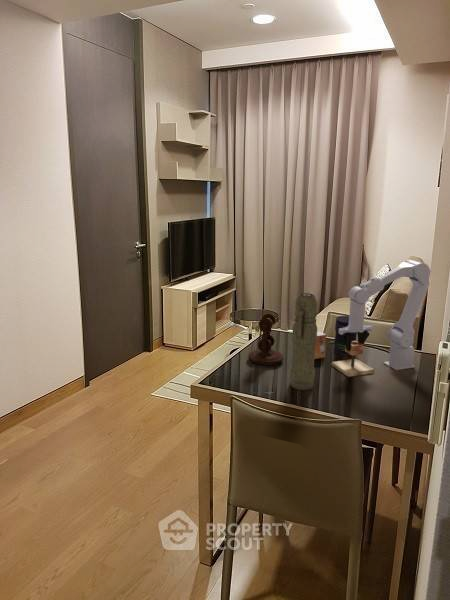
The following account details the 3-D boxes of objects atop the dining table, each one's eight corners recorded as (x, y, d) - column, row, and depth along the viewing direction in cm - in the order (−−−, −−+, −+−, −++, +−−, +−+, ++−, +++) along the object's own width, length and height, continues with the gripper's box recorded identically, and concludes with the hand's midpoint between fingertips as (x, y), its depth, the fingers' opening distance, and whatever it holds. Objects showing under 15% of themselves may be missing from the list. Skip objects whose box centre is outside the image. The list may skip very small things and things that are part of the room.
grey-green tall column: (285, 389, 172) (290, 297, 163) (294, 377, 182) (298, 290, 173) (309, 393, 168) (315, 300, 160) (317, 381, 179) (322, 292, 170)
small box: (310, 360, 199) (311, 337, 197) (302, 356, 204) (303, 333, 201) (325, 357, 203) (326, 334, 200) (317, 353, 208) (318, 330, 205)
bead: (355, 349, 192) (356, 340, 191) (362, 354, 187) (363, 344, 186) (344, 351, 190) (345, 341, 189) (352, 355, 186) (352, 346, 185)
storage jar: (358, 354, 206) (361, 322, 202) (336, 354, 206) (338, 322, 202) (352, 346, 216) (355, 315, 212) (331, 346, 216) (333, 315, 212)
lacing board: (356, 361, 198) (357, 347, 196) (373, 372, 187) (375, 357, 185) (331, 365, 194) (332, 350, 192) (348, 376, 183) (349, 361, 182)
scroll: (252, 353, 207) (253, 309, 202) (285, 356, 203) (287, 312, 198) (244, 365, 193) (245, 319, 188) (279, 369, 189) (281, 322, 184)
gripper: (346, 321, 179) (344, 354, 182) (378, 318, 184) (375, 350, 187) (336, 316, 185) (334, 348, 189) (367, 313, 190) (364, 344, 194)
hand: (353, 349), depth 188 cm, fingers closed on bead, 5 cm apart
